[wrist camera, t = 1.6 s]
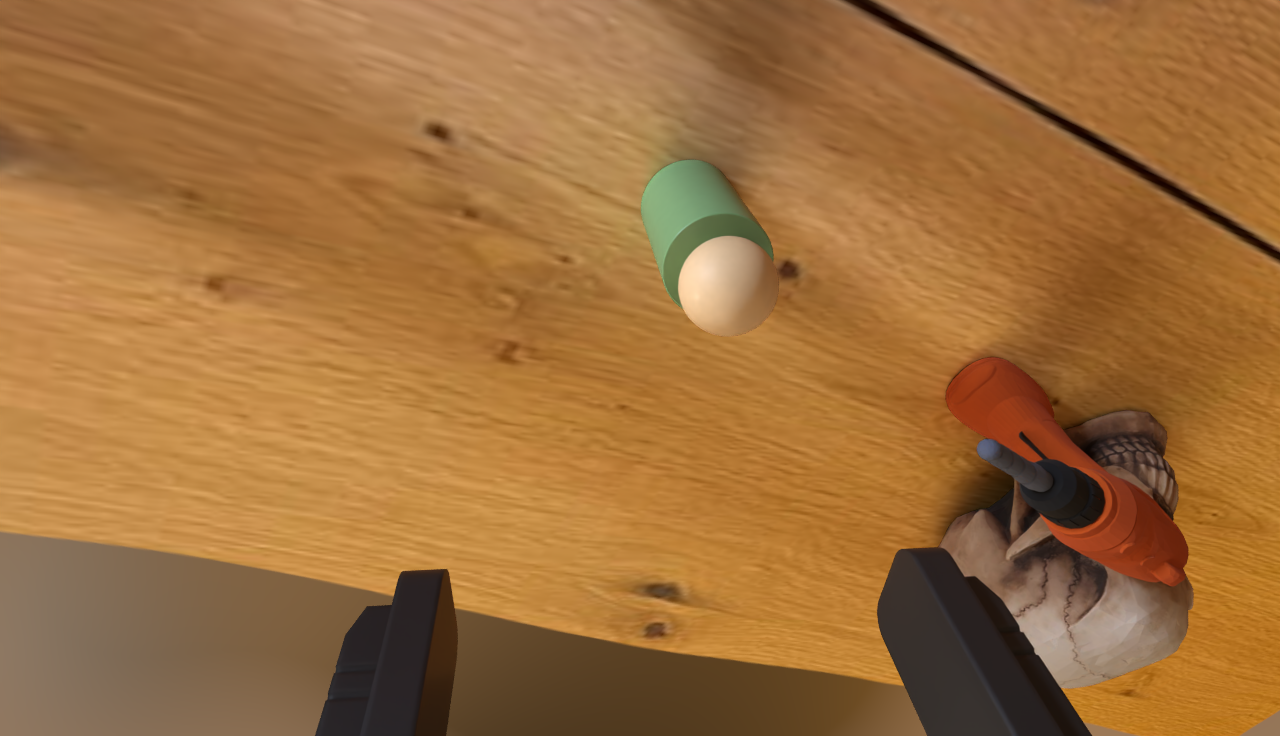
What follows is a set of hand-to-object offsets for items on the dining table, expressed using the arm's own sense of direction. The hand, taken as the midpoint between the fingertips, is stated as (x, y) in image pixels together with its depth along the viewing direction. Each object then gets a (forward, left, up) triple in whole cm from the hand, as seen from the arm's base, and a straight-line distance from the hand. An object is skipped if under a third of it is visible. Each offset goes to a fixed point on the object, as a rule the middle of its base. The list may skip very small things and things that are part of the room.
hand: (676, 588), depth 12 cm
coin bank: (+31, -27, -26) cm, 48 cm away
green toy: (+5, -2, -25) cm, 26 cm away
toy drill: (+22, -14, -26) cm, 36 cm away
